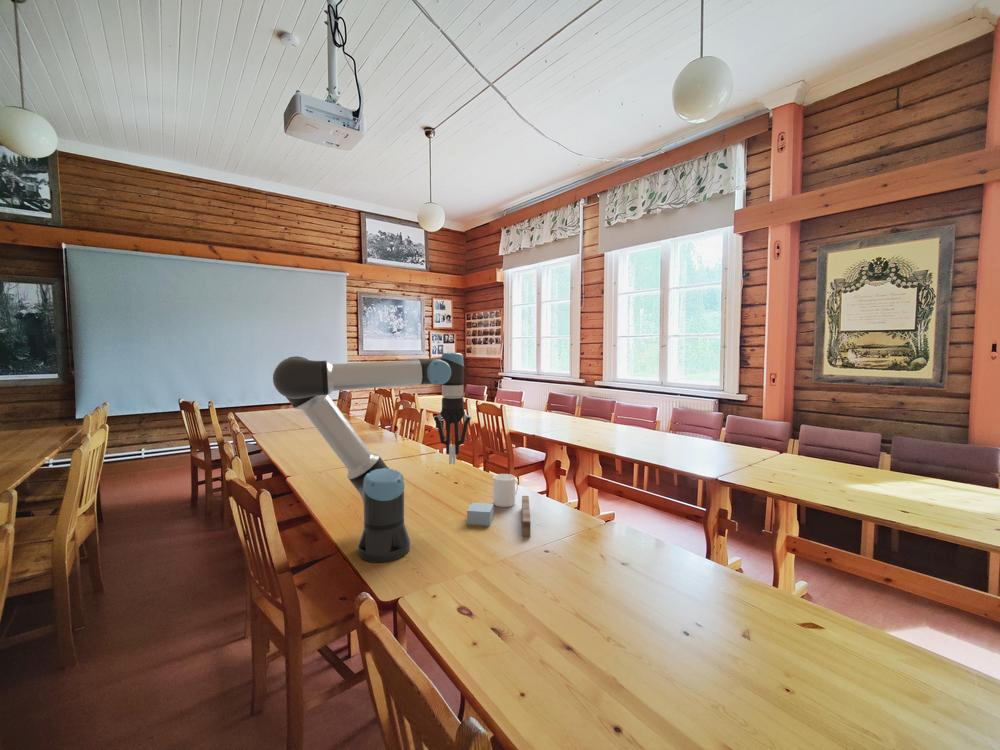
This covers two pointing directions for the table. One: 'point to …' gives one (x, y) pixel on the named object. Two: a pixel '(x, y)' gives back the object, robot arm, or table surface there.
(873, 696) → the table surface
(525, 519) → the board
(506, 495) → the mug
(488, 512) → the block
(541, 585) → the table surface
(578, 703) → the table surface
